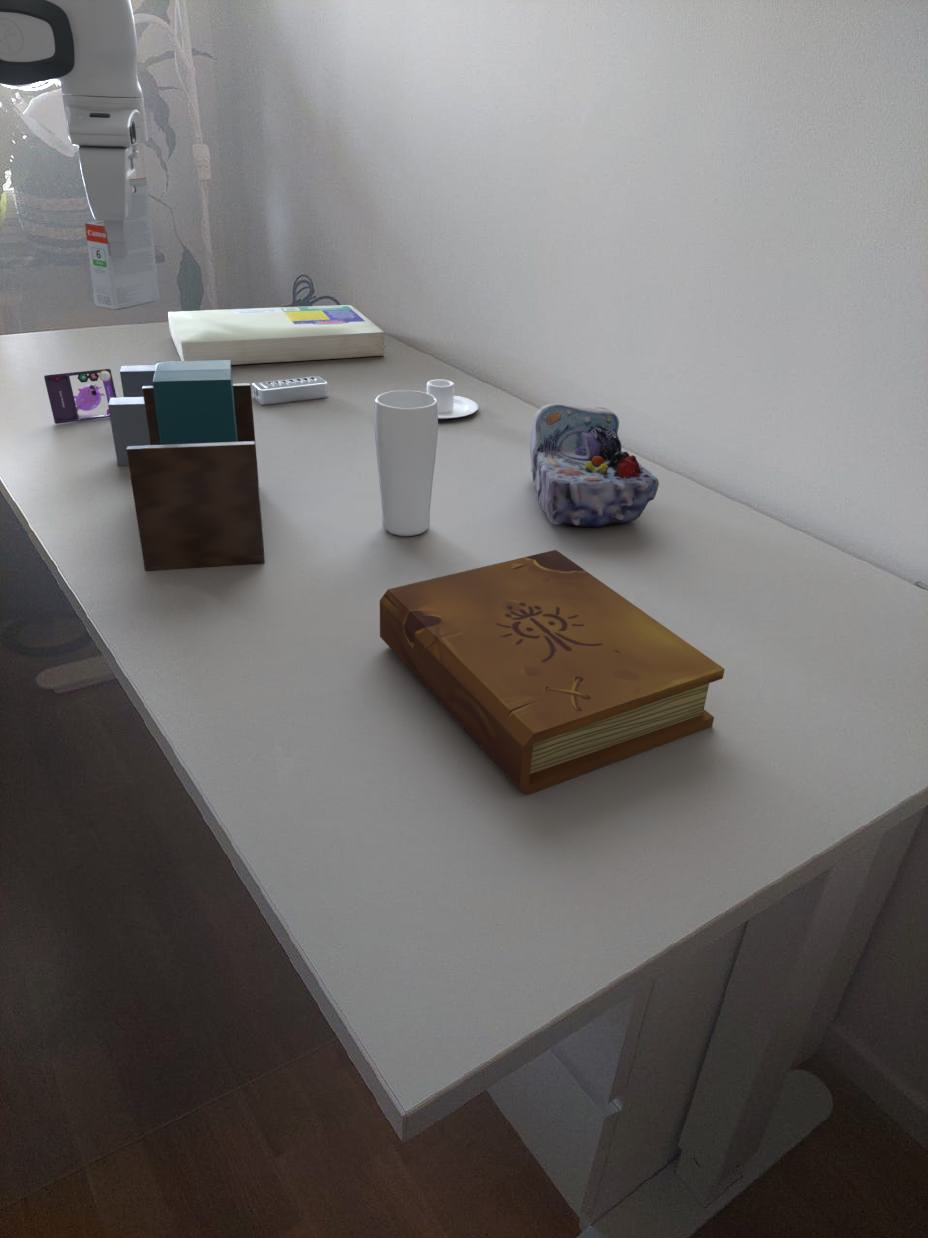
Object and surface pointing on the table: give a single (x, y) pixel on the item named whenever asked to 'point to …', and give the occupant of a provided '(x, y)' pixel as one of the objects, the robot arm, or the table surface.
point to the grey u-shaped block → (130, 410)
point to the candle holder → (450, 400)
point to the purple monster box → (85, 400)
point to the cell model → (586, 468)
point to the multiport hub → (290, 390)
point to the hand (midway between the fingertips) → (123, 250)
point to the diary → (548, 666)
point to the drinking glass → (406, 458)
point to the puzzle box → (275, 334)
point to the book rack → (198, 495)
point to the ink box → (125, 258)
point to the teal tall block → (195, 402)
